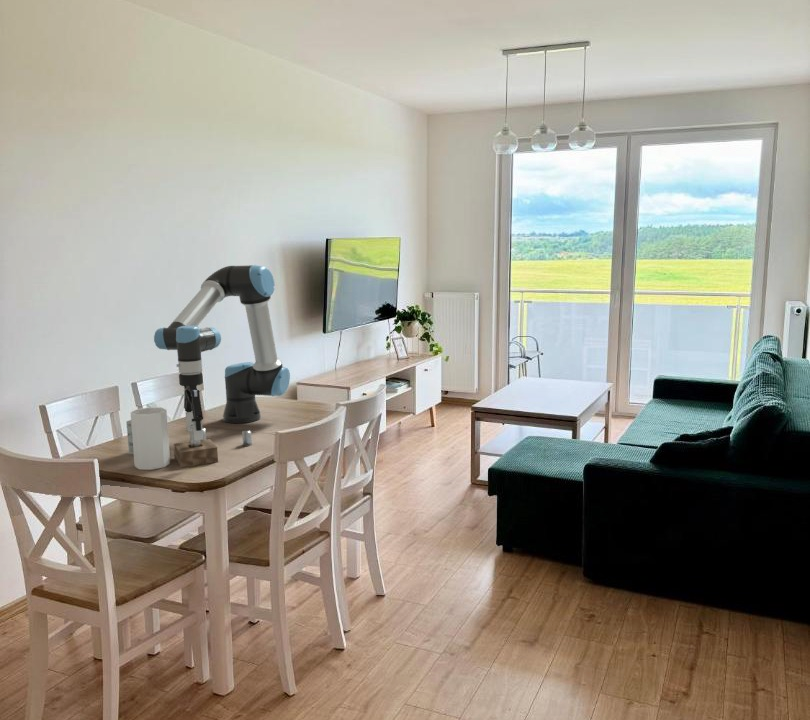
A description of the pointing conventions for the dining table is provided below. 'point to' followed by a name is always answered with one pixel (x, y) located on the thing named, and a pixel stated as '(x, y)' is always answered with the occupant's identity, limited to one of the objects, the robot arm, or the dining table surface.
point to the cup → (150, 438)
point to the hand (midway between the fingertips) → (194, 435)
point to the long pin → (193, 442)
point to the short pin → (247, 438)
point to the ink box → (130, 437)
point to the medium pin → (204, 433)
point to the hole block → (195, 453)
